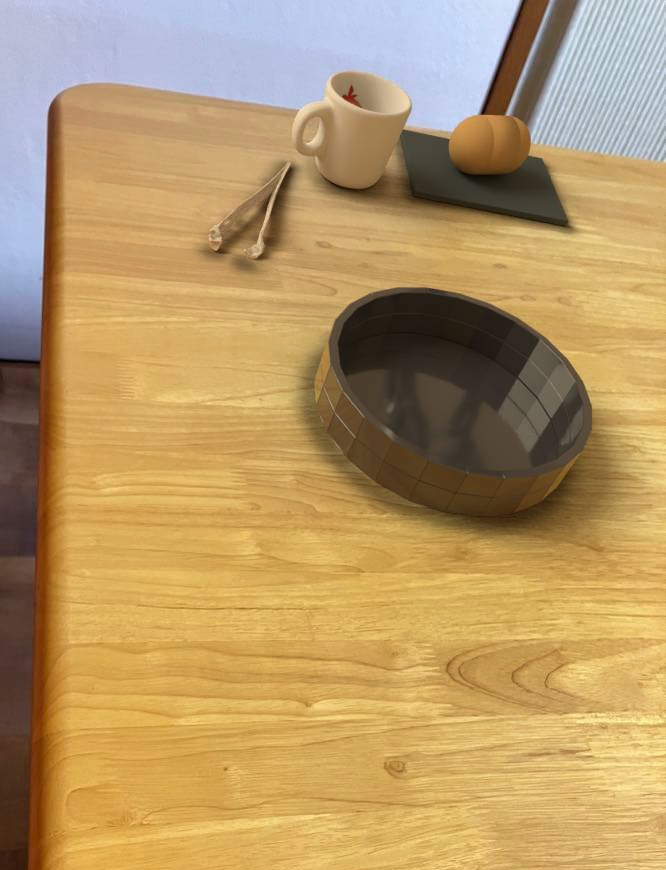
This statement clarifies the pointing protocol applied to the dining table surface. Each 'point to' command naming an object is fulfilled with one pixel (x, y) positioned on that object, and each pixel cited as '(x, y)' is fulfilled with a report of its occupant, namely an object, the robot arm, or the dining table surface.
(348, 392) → the pan
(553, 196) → the mat
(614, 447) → the dining table surface
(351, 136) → the cup
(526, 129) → the potato
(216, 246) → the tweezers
